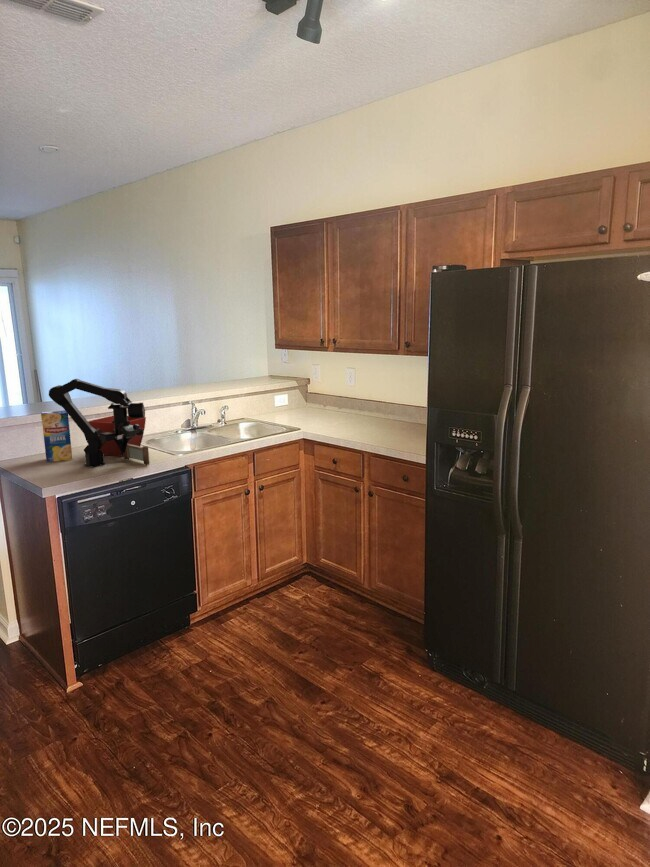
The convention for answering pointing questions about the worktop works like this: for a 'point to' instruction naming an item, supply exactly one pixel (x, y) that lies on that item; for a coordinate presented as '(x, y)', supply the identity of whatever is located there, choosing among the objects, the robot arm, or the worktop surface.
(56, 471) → the worktop surface
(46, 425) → the blue cardboard box
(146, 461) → the gate frame
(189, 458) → the worktop surface
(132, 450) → the panel
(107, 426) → the plant pot
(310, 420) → the worktop surface
